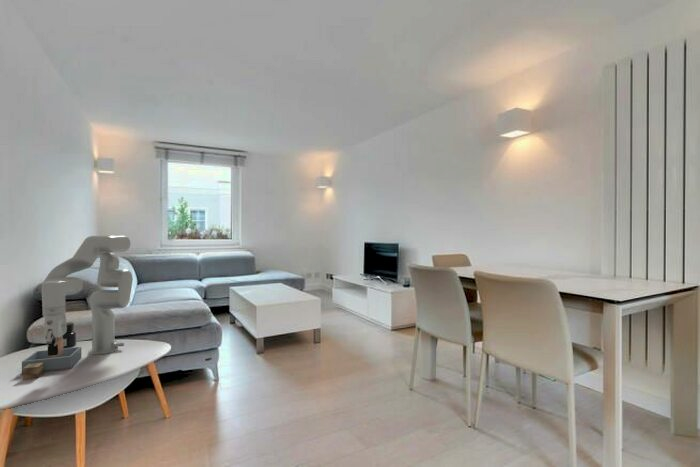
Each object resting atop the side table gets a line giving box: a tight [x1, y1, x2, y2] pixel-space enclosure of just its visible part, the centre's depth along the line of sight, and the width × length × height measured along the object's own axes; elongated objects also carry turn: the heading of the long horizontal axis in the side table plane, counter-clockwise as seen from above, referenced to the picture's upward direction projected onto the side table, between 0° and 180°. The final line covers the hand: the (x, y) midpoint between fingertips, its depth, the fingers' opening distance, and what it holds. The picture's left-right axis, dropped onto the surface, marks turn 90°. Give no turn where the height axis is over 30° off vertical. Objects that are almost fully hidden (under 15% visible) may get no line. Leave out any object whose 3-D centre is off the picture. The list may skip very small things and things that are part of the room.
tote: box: [21, 346, 82, 375], centre depth 162 cm, size 17×14×6 cm
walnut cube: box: [22, 363, 44, 381], centre depth 150 cm, size 5×5×5 cm
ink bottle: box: [63, 321, 77, 348], centre depth 190 cm, size 10×9×12 cm
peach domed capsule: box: [48, 336, 63, 357], centre depth 148 cm, size 5×5×7 cm
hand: (55, 352), depth 149 cm, fingers closed on peach domed capsule, 5 cm apart
